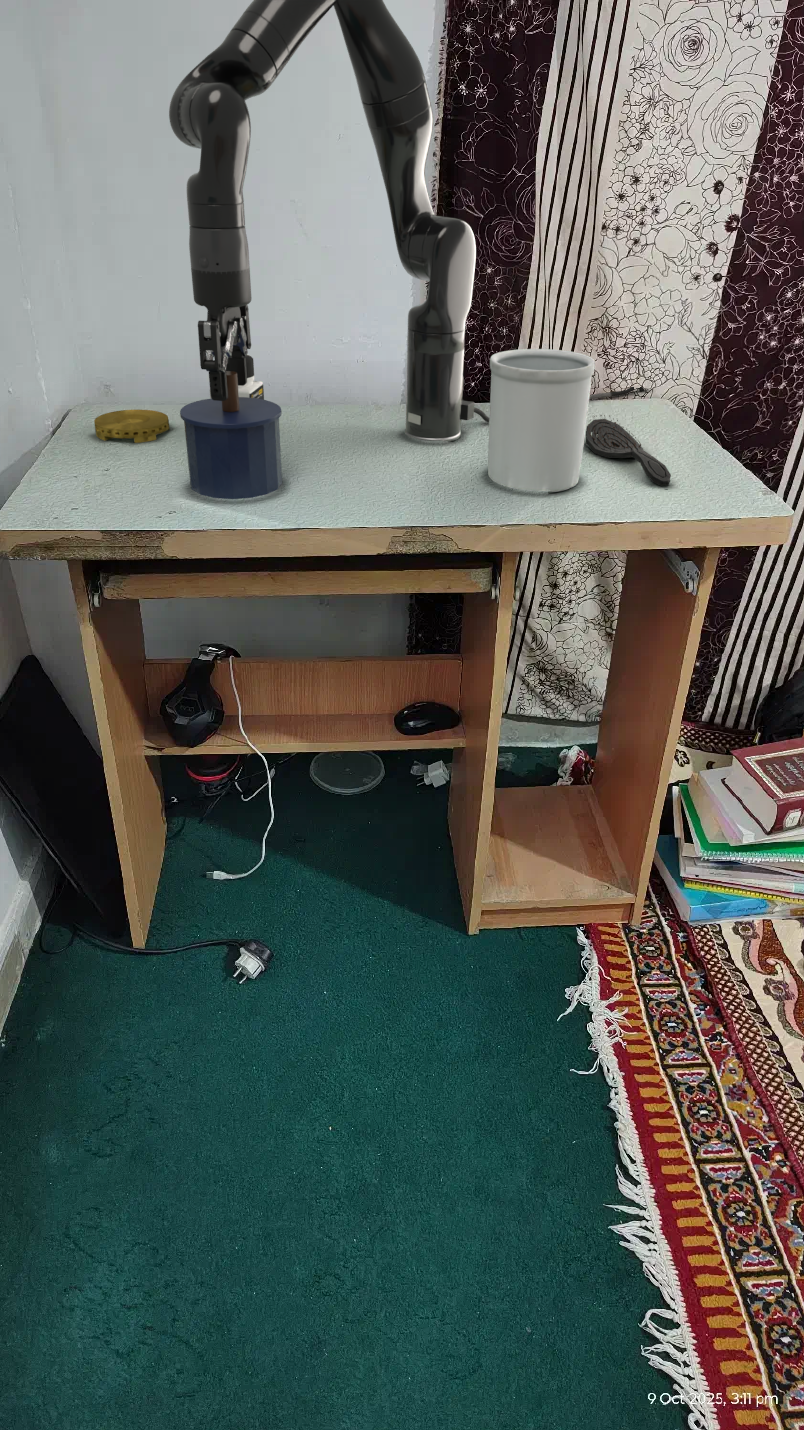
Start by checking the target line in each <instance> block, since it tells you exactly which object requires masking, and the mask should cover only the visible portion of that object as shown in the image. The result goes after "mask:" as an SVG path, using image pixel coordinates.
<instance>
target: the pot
mask: <svg viewBox="0 0 804 1430" xmlns="http://www.w3.org/2000/svg"><path fill="white" fill-rule="evenodd" d="M183 424H184V435H185V444H186V456H187V465H188V475H189V485H190V489H191V490H192V491H193V492H195V493H196V494H199V495H201V496H203V497H209V498H213V499H223V500H241V499H253V498H257V497H260V496H266V495H269V494H272V493H273V492H275V491H278V489H279V488H280V487H281V486H282V484H283V473H282V454H281V453H282V452H281V451H282V450H281V432H280V417H279V418H278V419H277V420H275V421H273V422H270V423H267V424H264V425H260V426H254V427H247V428H233V429H222V428H208V427H201V426H196V425H193V424H190V423H187V422H185V421H184V420H183Z"/></svg>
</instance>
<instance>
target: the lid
mask: <svg viewBox="0 0 804 1430" xmlns="http://www.w3.org/2000/svg"><path fill="white" fill-rule="evenodd" d="M225 372H226V376H227V389H228V398H227V399H226V400H225V401H216V400H212V399H210V398H205V399H201V400H196V401H193V402H190V403H188V404H186V405H184V406H182V407H181V408H180V410H179V416H180V419H181V420H182V421H183V422H184V421H185V422H187V423H190V424H193V425H196V426H201V427H208V428H222V429H233V428H247V427H254V426H260V425H264V424H267V423H270V422H273V421H275V420H277V419H278V418H279V419H280V418H281V416H282V414H283V413H282V407H281V406H280V405H279V404H278V403H276V402H273V401H271V400H266V399H264V400H263V399H257V398H248V397H239V393H238V378H237V373H236V372H233V371H225Z"/></svg>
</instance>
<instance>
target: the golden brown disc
mask: <svg viewBox="0 0 804 1430" xmlns="http://www.w3.org/2000/svg"><path fill="white" fill-rule="evenodd" d="M169 420H170V419H169V416H168V415H167V414H166V413H164V412H161V411H158V410H151V409H122V410H121V409H120V410H114V411H110V412H106V413H102V414H101V415H98V416H96V417H95V418H94V421H93V423H94V430H95V435H96V437H97V438H98V439H100V440H102V441H104V442H105V441H108V440H112V439H133V441H134V444H137V443H138V444H140V443H146V442H153V441H157V436H158V435H160V434H163V433H165V432H166V431H170V421H169Z"/></svg>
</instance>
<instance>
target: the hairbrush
mask: <svg viewBox="0 0 804 1430" xmlns="http://www.w3.org/2000/svg"><path fill="white" fill-rule="evenodd" d="M597 416H598V415H593V418H595V419H589V423H588V424H587V425H586V428H585V444H586V445H587V446H588V447H589V449H590V450H591V451H592V452H593V453H594V454H595V455H597V456H600V457H603V458H609V459H611V458H612V459H627V458H633V459H635V461H637V462H638V463H640V466H641V468H642V470H643V472H644V474H645V475H646V476H647V477H648V478H649V479H650V480H651V482H653V483H654V484H656V485H658V486H660V487H662V488H664V487H669V486H670V484H671V477H672V474H671V473H670V471H669V470H668V467H667V466H666V465H665V463H663V462H661V461H660V460H658V459H657V458H656V457H655V456H653V455H652V454H650V453H648V452H647V451H645V450H644V448H643V447H642V443H641V441H639V439H637V437H636V436H635V435H634V434H633V433H632V432H631V431H630V430H628V428H626V429H625V428H624V427H625V426H622V425H621V424H620V423H617V422H618V421H619V420H618V419H616V421H613V420H615V419H614V417H613V418H611V414H609V415H608V418H609V419H606V418H598V419H597V418H596V417H597ZM603 416H604V417H606V414H604V415H603V414H599V417H603Z"/></svg>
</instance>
